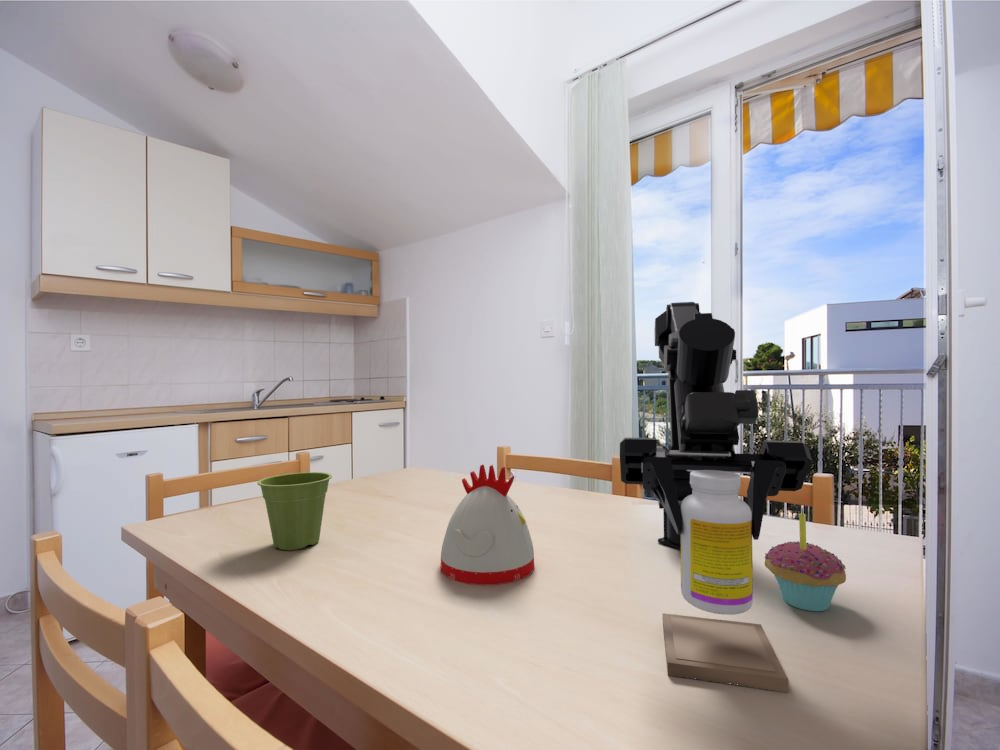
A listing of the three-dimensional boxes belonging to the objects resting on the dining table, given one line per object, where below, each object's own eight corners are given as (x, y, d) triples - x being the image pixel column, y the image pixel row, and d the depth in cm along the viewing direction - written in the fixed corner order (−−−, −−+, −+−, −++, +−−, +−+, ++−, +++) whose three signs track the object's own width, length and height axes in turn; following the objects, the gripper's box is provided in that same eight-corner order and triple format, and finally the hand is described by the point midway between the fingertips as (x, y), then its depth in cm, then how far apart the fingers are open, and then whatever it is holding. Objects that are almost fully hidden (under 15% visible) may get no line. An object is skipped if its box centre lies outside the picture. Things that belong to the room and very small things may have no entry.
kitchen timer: (517, 590, 65) (515, 476, 65) (424, 577, 70) (423, 470, 70) (544, 555, 78) (543, 459, 78) (464, 546, 83) (463, 456, 83)
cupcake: (849, 626, 55) (847, 517, 55) (762, 608, 59) (760, 507, 59) (844, 597, 62) (842, 501, 62) (767, 582, 66) (766, 493, 67)
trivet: (662, 624, 56) (662, 612, 56) (761, 635, 53) (760, 623, 53) (667, 675, 46) (667, 661, 46) (788, 692, 43) (788, 678, 43)
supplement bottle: (768, 616, 47) (767, 480, 47) (700, 619, 46) (699, 482, 46) (728, 585, 53) (728, 466, 53) (669, 588, 53) (668, 468, 53)
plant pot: (323, 529, 93) (322, 469, 93) (340, 546, 83) (340, 479, 83) (253, 541, 86) (252, 476, 86) (263, 561, 76) (262, 488, 76)
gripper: (619, 366, 56) (616, 485, 45) (804, 363, 51) (850, 496, 40) (622, 428, 64) (620, 542, 53) (784, 431, 59) (818, 557, 48)
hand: (717, 535), depth 48 cm, fingers closed on supplement bottle, 7 cm apart
